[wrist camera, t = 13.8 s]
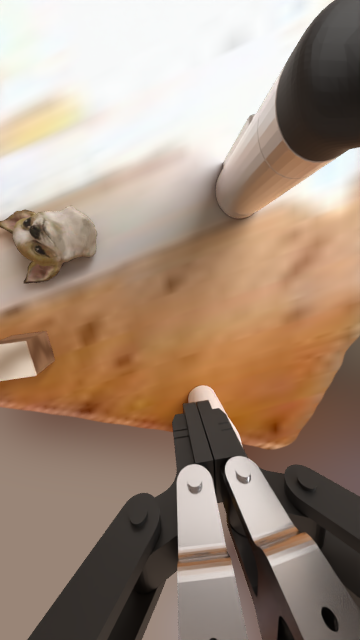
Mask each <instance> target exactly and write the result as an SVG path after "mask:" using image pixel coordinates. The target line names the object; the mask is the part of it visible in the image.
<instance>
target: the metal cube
mask: <svg viewBox="0 0 360 640" xmlns="http://www.w3.org/2000/svg"><path fill="white" fill-rule="evenodd" d="M54 361H55V358H54V355H53V351H52V348H51V344H50V341H49V337H48V334H47V331H43V332H35V333H28V334H20V335H12V336H10V337H7V338H5V339H2V340H0V381H5V380H11V379H18V378H25V377H31V376H36V375H37V374H39V373H40V372H41V371H42V370H44V369H45V368H46V367H47V366H49V365H50V364H51V363H52V362H54Z"/></svg>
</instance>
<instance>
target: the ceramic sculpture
mask: <svg viewBox="0 0 360 640" xmlns="http://www.w3.org/2000/svg"><path fill="white" fill-rule="evenodd" d="M0 227H1V228H3V229H5V230H7V231H9V232H10V233H12V234H13V240H14V242H15V245H16V247H17V249H18V250H19V252H20V253H21V254H22V255H23V256H24V257H26V258H27V259H29V260H31V261H32V262H31V263H30V265H29V267H28V273H27V277H26V279H25V280H24V284H26V283H33V282H34V283H37V282H43V281H47V280H50V279H51V278H53V277H54V276H55V275H57V273H58V272H59V270H60V268H61V266H62V264H63V262H68V261H69V260H72V259H73V258H77V257H81V256H84V257H91V256H93V255H94V254H95V252H96V237H97V231H96V229H95V226H94V224H93V222H92V221H91V220H90V218H88V217H87V216H86V215H85V214H83V213H81V212H79V211H78V210H76V209H75V208H74V207H73V206H72V205H70V206H68V207H66V208H65V209H63V210H62V211H60V212H57V211H46V212H39V213H37V214H36V213H34V212H32V211H28V210H22V211H16V212H15V213H14V214H12V215H11V216H10V217H9V218H7V219H6V220H4V221H0Z"/></svg>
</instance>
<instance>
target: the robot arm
mask: <svg viewBox="0 0 360 640" xmlns="http://www.w3.org/2000/svg"><path fill="white" fill-rule="evenodd" d="M357 147H360V0H335V1H333V2H332V3H330V4H329V5H328V6H327V7H326V8H325V9H324V10H322V11H321V13H320V14H319V15H318V16H317V17H316V18H315V19H314V20H313V22H312V23H311V24H310V26H309V27H308V28H307V30H306V31H305V33H304V34H303V36H302V37H301V39H300V41H299V42H298V44H297V46H296V47H295V49H294V51H293V52H292V54H291V56H290V57H289V59H288V61H287V63H286V64H285V66H284V67H283V69H282V71H281V72H280V74H279V76H278V77H277V79H276V81H275V83H274V84H273V86H272V88H271V89H270V91H269V93H268V94H267V96H266V98H265V99H264V101H263V103H262V105H261V106H260V108H259V110H258V111H257V113H256V114H253V115H251V116H250V117H249V118H248V119H247V121H246V123H245V125H244V126H243V128H242V130H241V132H240V133H239V135H238V137H237V139H236V141H235V142H234V144H233V146H232V148H231V149H230V151H229V153H228V155H227V156H226V158H225V160H224V162H223V170H222V171H221V173H220V175H219V177H218V180H217V183H216V198H217V201H218V204H219V206H220V207H221V209H222V210H223V211H224V212H225V213H226V214H227V215H229V216H230V217H233V218H238V219H242V218H246V217H249V216H251V215H252V214H254V213H256V212H257V211H258V210H260V209H261V208H263V207H264V206H266V205H267V204H269V203H270V202H272V201H273V200H275V199H276V198H278V197H279V196H281V195H282V194H284V193H285V192H287V191H288V190H290V189H291V188H293V187H294V186H296V185H297V184H299V183H300V182H302V181H303V180H304V179H306V178H307V177H309V176H310V175H312V174H313V173H315V172H316V171H318V170H319V169H321V168H322V167H324V166H325V165H327V164H328V163H330V162H331V161H333V160H334V159H336V158H337V157H339V156H340V155H341V154H343V153H344V152H346V151H347V150H349V149H352V148H357ZM183 413H184V414H177V415H175V417H174V419H173V422H172V425H173V435H174V445H175V454H176V463H177V464H176V465H177V474H176V478H175V481H174V482H173V484H172V485H171V487H170V488H169V489H168V490H166V491H165V492H164V493H162V494H160V495H158V496H157V497H155V498H154V497H153V496H152V495H150V494H148V493H140V494H137V495H135V496H133V497H132V498H130V499H129V500H128V501H127V503H126V504H125V505H124V506H123V508H122V509H121V511H120V512H119V513H118V515H117V516H116V518H115V519H114V520H113V522H112V523H111V524H110V526H109V527H108V529H107V530H106V531H105V533H104V534H103V536H102V537H101V538H100V540H99V541H98V542H97V544H96V545H95V547H94V548H93V549H92V551H91V552H90V554H89V555H88V556H87V558H86V559H85V560H84V562H83V563H82V565H81V566H80V567H79V569H78V570H77V572H76V573H75V574H74V576H73V577H72V579H71V580H70V581H69V583H68V584H67V585H66V587H65V588H64V590H63V591H62V592H61V594H60V595H59V597H58V598H57V599H56V601H55V602H54V604H53V605H52V606H51V608H50V609H49V610H48V612H47V613H46V615H45V616H44V617H43V619H42V620H41V622H40V623H39V624H38V626H37V627H36V628H35V630H34V631H33V633H32V634H31V635H30V637H29V638H28V640H142V638H143V635H144V633H145V630H146V628H147V625H148V623H149V621H150V618H151V616H152V613H153V611H154V608H155V606H156V604H157V601H158V599H159V597H160V594H161V592H162V589H163V587H164V584H165V581H166V579H167V578H169V577H170V576H171V575H172V574H174V573H175V572H176V571H177V576H178V631H179V640H248V637H247V633H246V628H245V623H244V618H243V614H242V609H241V604H240V599H239V595H238V590H237V585H236V581H235V576H234V571H233V567H232V562H231V559H230V556H229V554H228V552H227V549H226V545H225V540H224V535H223V530H222V525H221V520H220V515H219V510H218V505H217V503H220V502H223V504H224V508H225V511H226V521H227V527H228V530H229V533H230V536H231V539H232V541H233V545H234V547H235V550H236V553H237V556H238V559H239V562H240V565H241V568H242V571H243V573H244V577H245V580H246V582H247V585H248V588H249V591H250V594H251V597H252V601H253V604H254V608H255V612H256V617H257V622H258V626H259V630H260V634H261V638H262V640H360V497H359V496H357V495H356V494H354V493H352V492H350V491H349V490H347V489H345V488H343V487H341V486H340V485H338V484H336V483H334V482H333V481H331V480H329V479H327V478H326V477H324V476H322V475H320V474H319V473H317V472H315V471H313V470H311V469H310V468H307V467H305V466H302V465H291V466H289V467H288V468H287V469H286V471H285V474H282V473H276V472H270V471H266V470H263V469H261V468H259V467H258V466H257V465H256V464H255V463H254V462H253V461H251V460H250V459H249V458H248V457H247V455H246V453H245V451H244V449H243V447H242V445H241V443H240V441H239V439H238V437H237V435H236V433H235V431H234V430H233V427H232V425H231V423H230V421H229V419H228V417H227V415H226V414H225V413H224V412H223V411H222V410H221V409H220V408H216V409H212V407H211V405H210V402H209V400H204V401H197V402H196V403H195V402H191V403H184V404H183Z"/></svg>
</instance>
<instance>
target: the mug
mask: <svg viewBox="0 0 360 640" xmlns="http://www.w3.org/2000/svg"><path fill="white" fill-rule="evenodd" d="M204 400H209V402H210V405H211V407H212V409H216V408H220V409H221V410H222V411H223V412H224V413H225V414H226V412H225V411H224V409H223V407H222V405H221V403H220V401H219V399H218V398H217V396H216V394H215V392H214V391H213V389H211V388H210V387H208V386H198V387H196V388H194V389H193V390H192V391H191V392H190V394H189V397H188V402H189V403H191V402H195V403H196V402H197V401H204ZM226 415H227V414H226ZM227 417H228V416H227ZM228 419H229V418H228ZM229 421H230V423H231V425H232V427H233V430H234V431H235V433H236V435H237V437H238V439H239V441H240V443H241V439H240V436H239V433H238V431H237V430H236V428H235V426H234V425H233V423H232V422H231V420H230V419H229ZM241 445H242V444H241Z"/></svg>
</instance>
